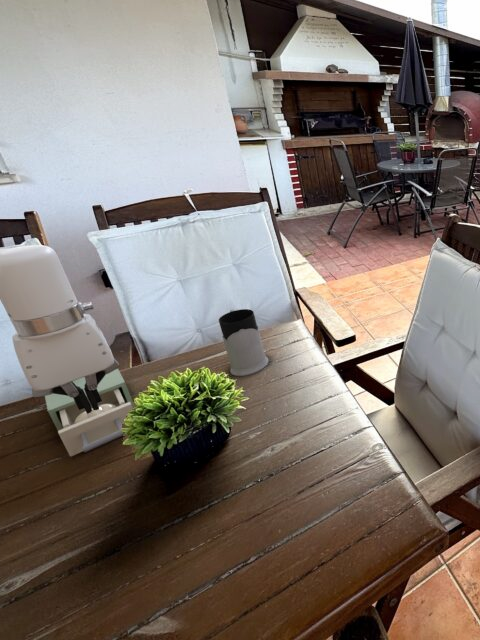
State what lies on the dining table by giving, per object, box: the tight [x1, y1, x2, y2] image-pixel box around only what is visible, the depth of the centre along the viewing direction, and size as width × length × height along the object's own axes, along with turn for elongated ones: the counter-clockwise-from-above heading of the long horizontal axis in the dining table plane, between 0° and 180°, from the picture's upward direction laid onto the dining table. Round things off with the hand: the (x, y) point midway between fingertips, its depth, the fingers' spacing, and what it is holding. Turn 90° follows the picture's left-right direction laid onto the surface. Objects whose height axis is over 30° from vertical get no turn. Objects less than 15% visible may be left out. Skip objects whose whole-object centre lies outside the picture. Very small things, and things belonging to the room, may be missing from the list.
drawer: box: [57, 388, 133, 457], centre depth 82 cm, size 19×10×6 cm, turn 51°
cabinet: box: [44, 368, 135, 432], centre depth 89 cm, size 14×12×8 cm
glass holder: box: [218, 308, 269, 377], centre depth 106 cm, size 9×14×15 cm, turn 42°
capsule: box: [74, 404, 117, 424], centre depth 83 cm, size 7×4×4 cm
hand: (92, 408), depth 72 cm, fingers closed
